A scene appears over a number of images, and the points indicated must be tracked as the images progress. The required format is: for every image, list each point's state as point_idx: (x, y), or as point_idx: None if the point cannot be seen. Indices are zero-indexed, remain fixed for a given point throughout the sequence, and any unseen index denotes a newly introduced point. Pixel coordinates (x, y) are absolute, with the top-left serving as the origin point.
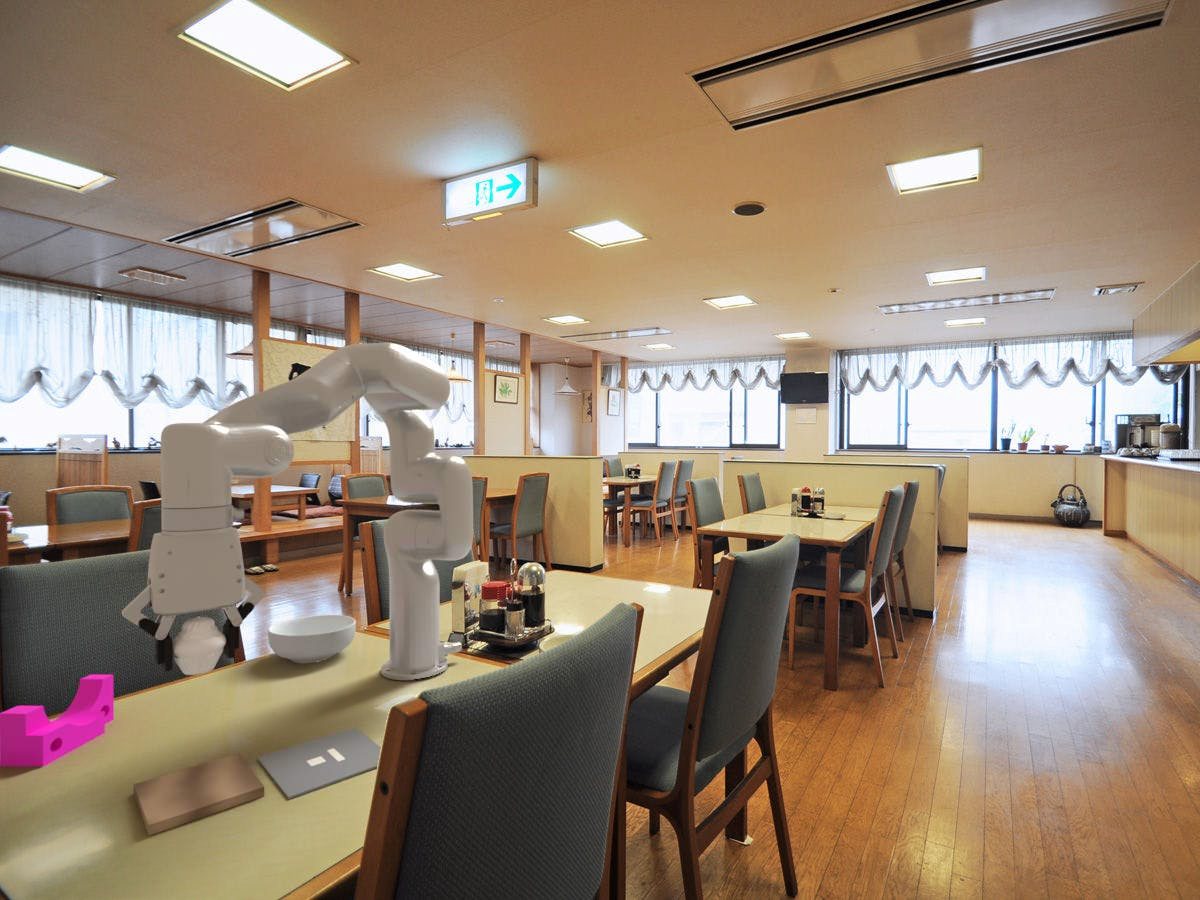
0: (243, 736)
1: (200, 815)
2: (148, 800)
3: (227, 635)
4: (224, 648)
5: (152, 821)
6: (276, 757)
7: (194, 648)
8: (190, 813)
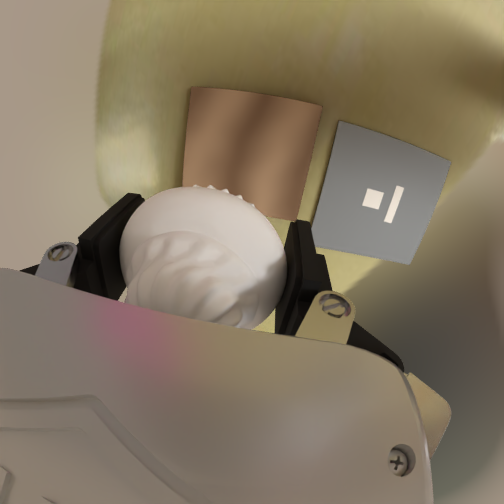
0: (360, 37)
1: None
2: (192, 146)
3: (276, 318)
4: (287, 247)
5: None
6: (353, 145)
7: None
8: None
